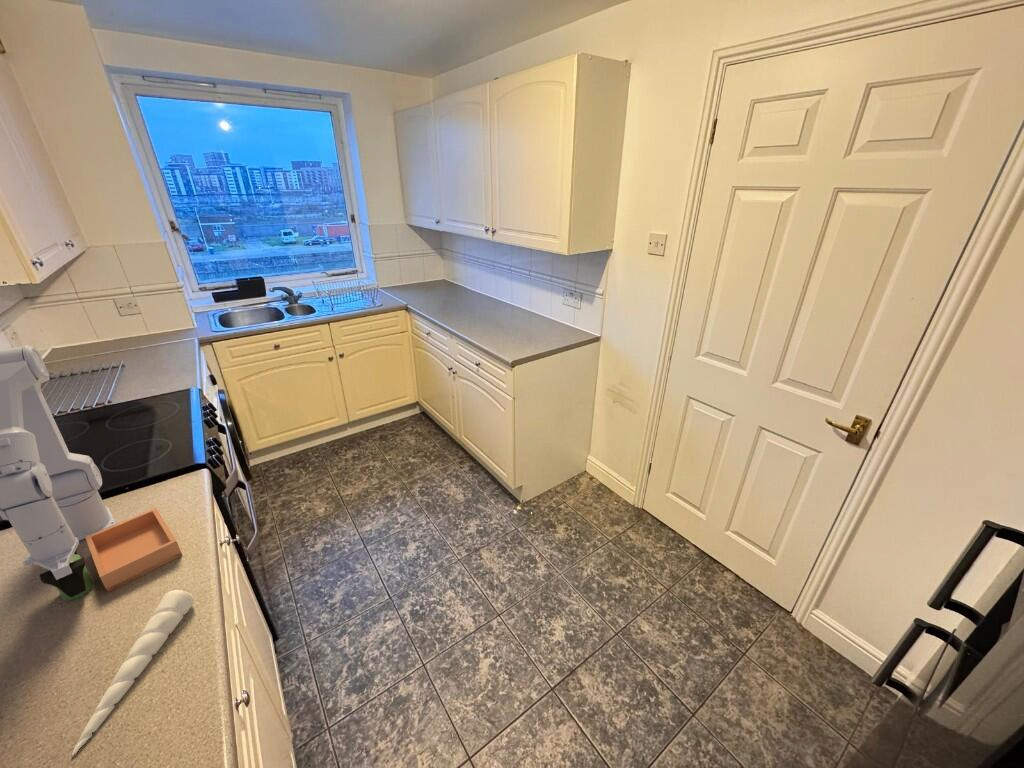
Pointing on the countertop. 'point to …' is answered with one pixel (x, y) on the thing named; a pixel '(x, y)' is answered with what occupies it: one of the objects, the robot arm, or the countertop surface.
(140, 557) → the terracotta bin
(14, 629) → the countertop surface
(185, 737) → the countertop surface
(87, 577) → the cucumber piece
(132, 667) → the unicorn horn
